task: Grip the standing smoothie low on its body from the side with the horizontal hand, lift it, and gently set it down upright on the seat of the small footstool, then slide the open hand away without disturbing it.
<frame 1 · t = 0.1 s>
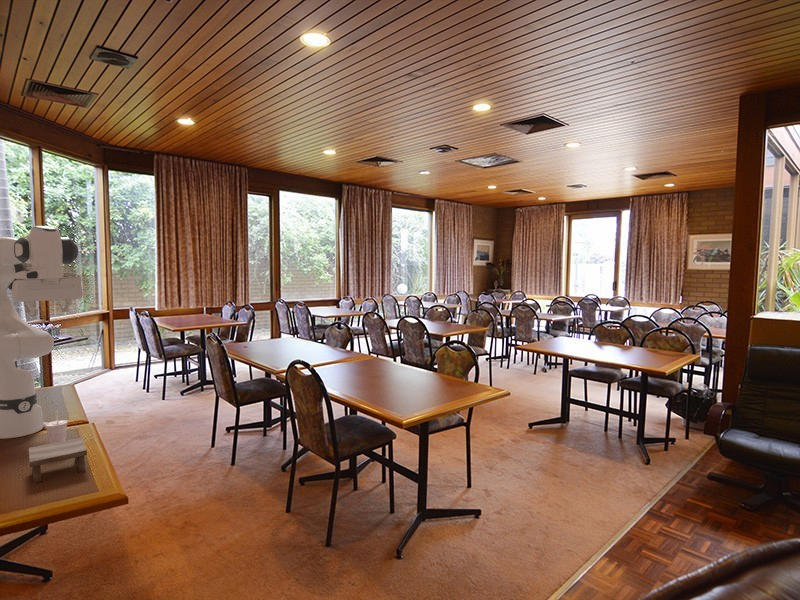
hand: (50, 313, 163), 48 cm above the table, tool pointing down, fingers open, 8 cm apart
stool: (58, 470, 148), on the table
smoothie: (58, 450, 165), on the table
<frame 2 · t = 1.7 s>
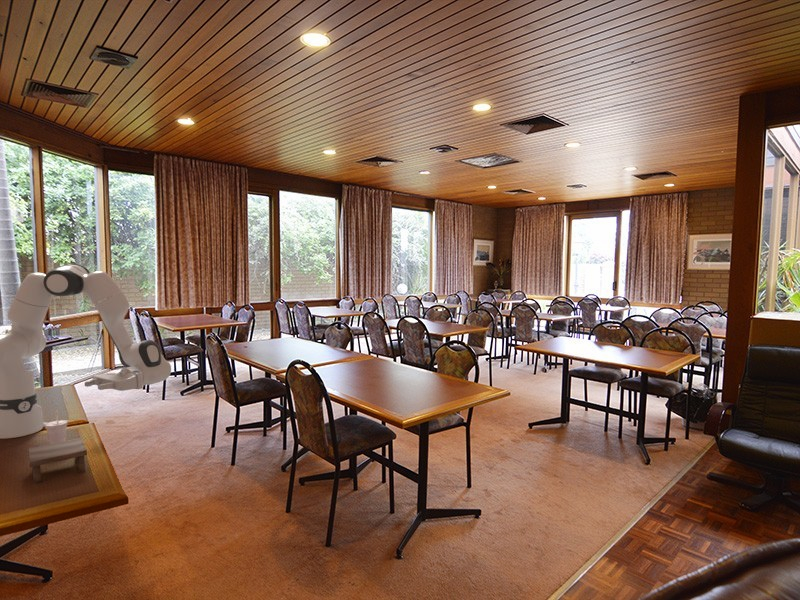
hand: (92, 386, 174), 20 cm above the table, tool horizontal, fingers open, 8 cm apart
nothing on the table moved.
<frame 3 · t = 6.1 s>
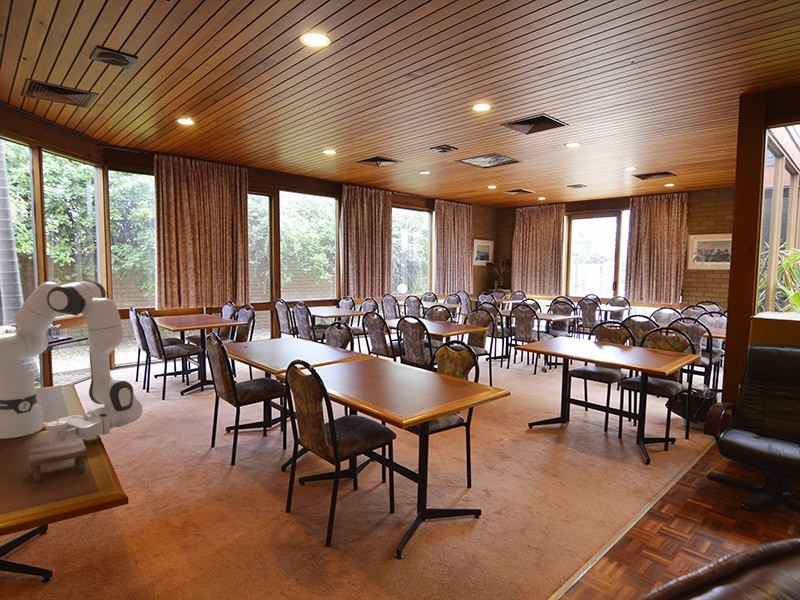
hand: (54, 432, 164), 7 cm above the table, tool horizontal, fingers closed on smoothie, 6 cm apart
smoothie: (58, 450, 165), on the table, touching gripper
when the fingers open (15 cm above the table, at t = 13.7 s): smoothie stays where it is, resting on stool.
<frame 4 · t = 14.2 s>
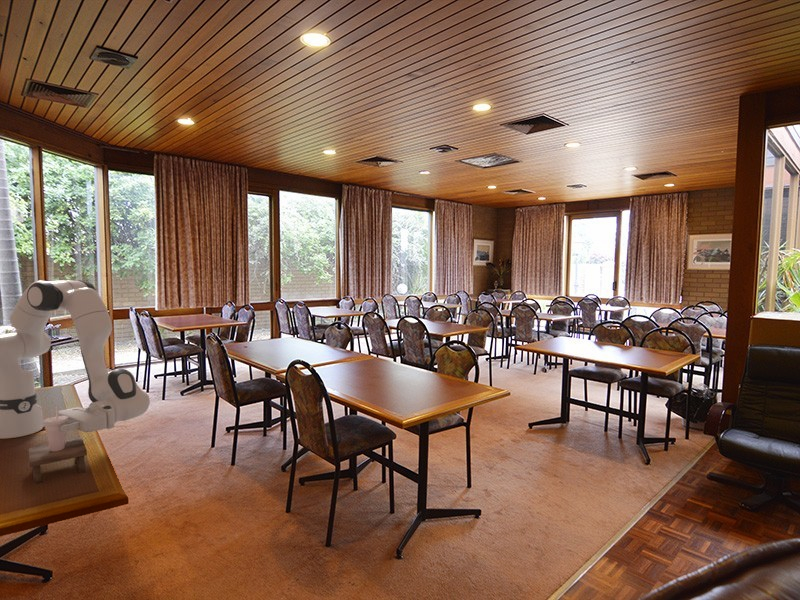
hand: (52, 426, 146), 15 cm above the table, tool horizontal, fingers open, 8 cm apart
smoothie: (57, 449, 148), point 7 cm above the table, touching stool
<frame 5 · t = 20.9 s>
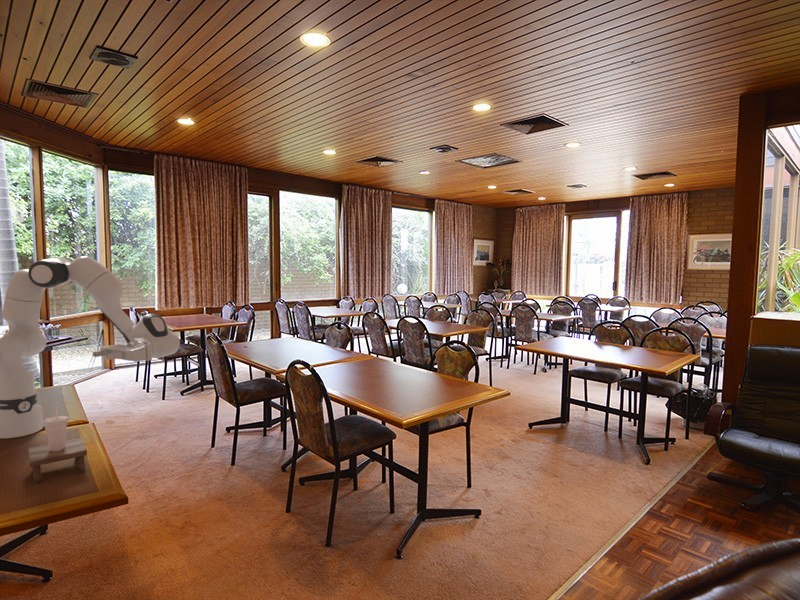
hand: (100, 355, 169), 32 cm above the table, tool horizontal, fingers open, 8 cm apart
nothing on the table moved.
at the end: smoothie inside the target area on the stool (0.0 cm from its centre), point 6.8 cm above the stool's base; smoothie tilted 0°; the gripper is holding nothing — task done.
